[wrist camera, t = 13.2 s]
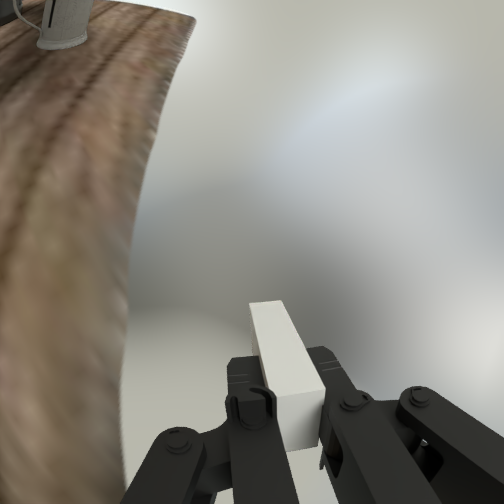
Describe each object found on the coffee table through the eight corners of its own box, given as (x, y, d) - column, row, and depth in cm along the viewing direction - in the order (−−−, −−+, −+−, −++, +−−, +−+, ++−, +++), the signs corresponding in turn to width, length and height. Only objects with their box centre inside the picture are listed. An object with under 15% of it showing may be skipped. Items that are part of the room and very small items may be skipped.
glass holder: (96, 40, 29) (123, -43, 18) (14, 67, 20) (28, -34, 9) (73, 27, 29) (95, -47, 17) (0, 52, 20) (12, -34, 8)
